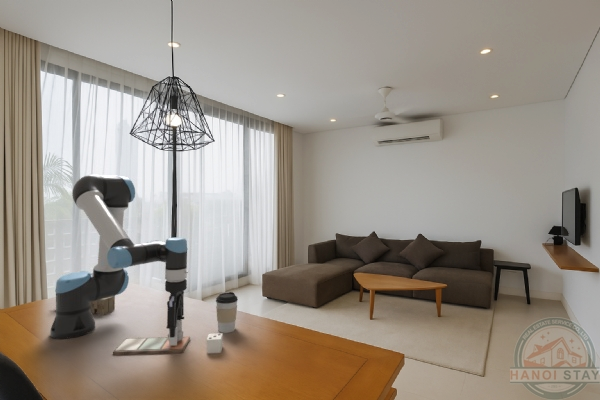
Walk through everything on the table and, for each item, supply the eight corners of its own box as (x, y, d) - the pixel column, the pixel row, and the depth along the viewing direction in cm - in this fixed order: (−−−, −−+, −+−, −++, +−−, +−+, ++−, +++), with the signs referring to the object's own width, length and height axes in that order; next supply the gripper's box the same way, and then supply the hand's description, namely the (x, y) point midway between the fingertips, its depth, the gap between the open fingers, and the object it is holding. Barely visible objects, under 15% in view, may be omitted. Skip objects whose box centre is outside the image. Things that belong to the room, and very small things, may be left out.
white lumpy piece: (187, 339, 124) (187, 318, 124) (173, 346, 118) (173, 324, 118) (177, 336, 126) (177, 316, 126) (162, 343, 121) (163, 321, 121)
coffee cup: (226, 335, 132) (227, 298, 132) (210, 330, 137) (211, 294, 136) (241, 328, 139) (242, 293, 139) (226, 323, 144) (226, 289, 144)
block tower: (117, 311, 160) (71, 303, 168) (117, 294, 159) (71, 287, 167) (103, 317, 152) (56, 308, 160) (103, 299, 152) (56, 291, 160)
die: (206, 353, 117) (206, 339, 117) (208, 347, 122) (208, 333, 122) (220, 352, 118) (220, 339, 118) (222, 346, 123) (222, 333, 123)
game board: (112, 354, 115) (112, 351, 115) (126, 340, 126) (126, 337, 126) (182, 352, 117) (182, 349, 117) (190, 339, 128) (190, 336, 128)
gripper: (179, 286, 113) (179, 352, 113) (192, 273, 132) (191, 330, 132) (157, 286, 112) (156, 353, 113) (173, 273, 131) (172, 330, 131)
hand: (175, 340), depth 122 cm, fingers closed on white lumpy piece, 6 cm apart
